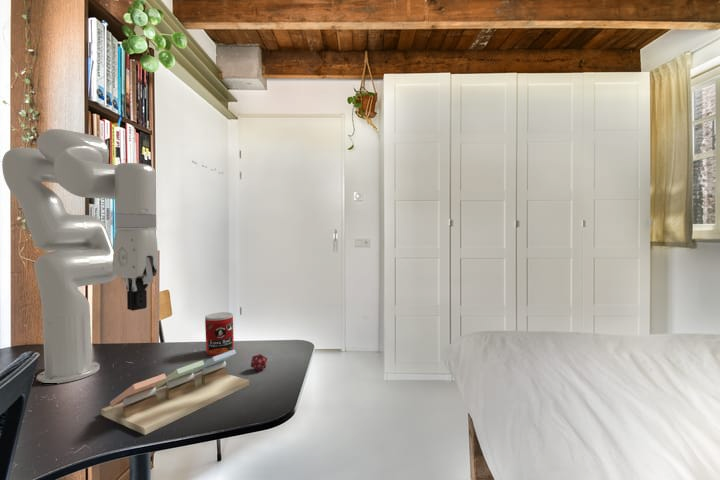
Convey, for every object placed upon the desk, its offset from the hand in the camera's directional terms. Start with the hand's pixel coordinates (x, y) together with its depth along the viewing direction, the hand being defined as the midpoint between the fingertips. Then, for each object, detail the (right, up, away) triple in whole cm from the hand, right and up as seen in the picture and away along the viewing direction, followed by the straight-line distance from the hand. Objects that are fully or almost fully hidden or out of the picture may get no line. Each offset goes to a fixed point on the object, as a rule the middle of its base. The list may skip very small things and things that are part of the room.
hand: (137, 308), depth 81 cm
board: (+10, -19, 0) cm, 21 cm away
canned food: (+6, -19, +31) cm, 36 cm away
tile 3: (+14, -15, +7) cm, 21 cm away
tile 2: (+9, -15, 0) cm, 18 cm away
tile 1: (+5, -16, -8) cm, 18 cm away
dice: (+22, -19, +16) cm, 33 cm away
